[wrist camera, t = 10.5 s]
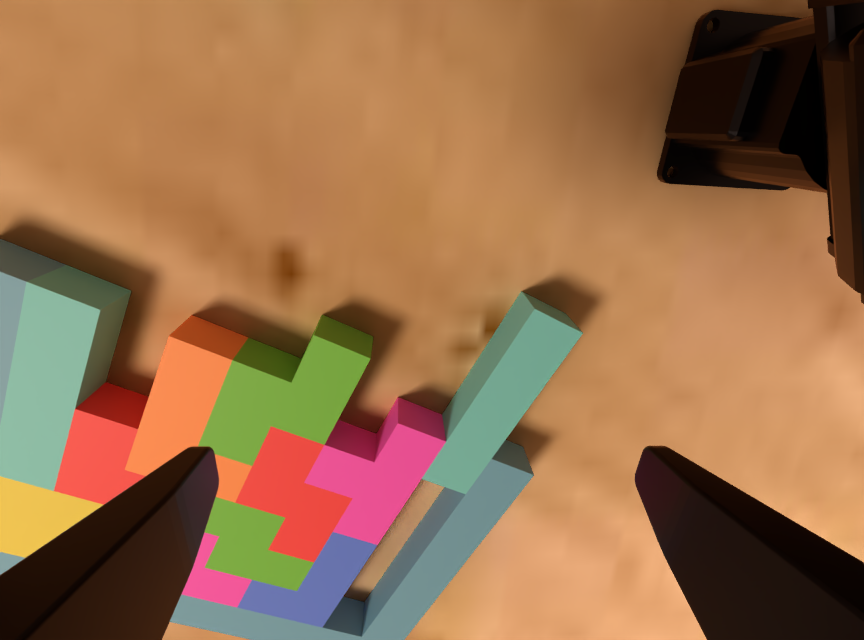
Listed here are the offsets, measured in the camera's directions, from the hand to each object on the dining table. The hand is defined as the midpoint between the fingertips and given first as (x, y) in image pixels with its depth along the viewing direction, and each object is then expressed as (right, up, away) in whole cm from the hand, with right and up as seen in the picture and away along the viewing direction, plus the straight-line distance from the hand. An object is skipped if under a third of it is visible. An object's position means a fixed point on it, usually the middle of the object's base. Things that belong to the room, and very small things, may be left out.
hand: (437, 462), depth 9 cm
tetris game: (-10, -3, +16) cm, 19 cm away
